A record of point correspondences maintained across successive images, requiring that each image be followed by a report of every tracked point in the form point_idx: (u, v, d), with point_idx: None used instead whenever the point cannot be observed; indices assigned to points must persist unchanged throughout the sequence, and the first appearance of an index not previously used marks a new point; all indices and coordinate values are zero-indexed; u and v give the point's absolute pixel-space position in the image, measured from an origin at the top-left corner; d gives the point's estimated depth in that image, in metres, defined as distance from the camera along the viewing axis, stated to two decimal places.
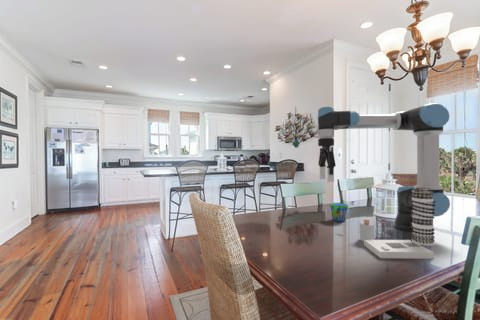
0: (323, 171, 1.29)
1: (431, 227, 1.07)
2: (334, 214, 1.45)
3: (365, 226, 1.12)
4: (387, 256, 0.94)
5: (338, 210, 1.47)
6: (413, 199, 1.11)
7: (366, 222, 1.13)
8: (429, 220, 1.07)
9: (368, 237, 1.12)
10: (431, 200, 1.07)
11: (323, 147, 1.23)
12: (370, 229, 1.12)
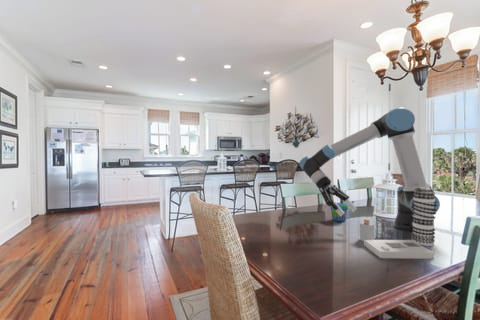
0: (349, 203, 1.26)
1: (432, 227, 1.07)
2: (334, 214, 1.45)
3: (365, 226, 1.12)
4: (387, 256, 0.94)
5: None
6: (414, 199, 1.10)
7: (366, 222, 1.13)
8: (430, 220, 1.07)
9: (368, 237, 1.12)
10: (433, 200, 1.06)
11: None
12: (370, 229, 1.12)
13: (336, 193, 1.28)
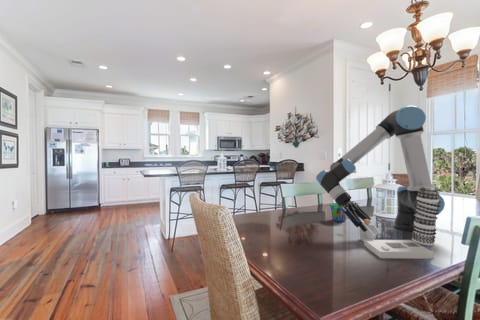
0: None
1: (433, 227, 1.06)
2: (334, 214, 1.45)
3: None
4: (387, 256, 0.94)
5: (338, 210, 1.47)
6: (418, 198, 1.09)
7: (366, 222, 1.13)
8: (432, 220, 1.06)
9: (368, 237, 1.12)
10: (436, 201, 1.06)
11: None
12: (370, 229, 1.12)
13: (356, 211, 1.19)
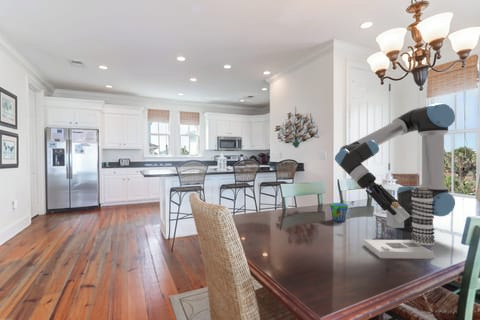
0: None
1: (431, 227, 1.07)
2: (334, 214, 1.45)
3: None
4: (387, 256, 0.94)
5: (338, 210, 1.47)
6: (413, 199, 1.11)
7: (394, 205, 1.00)
8: (429, 220, 1.07)
9: (397, 221, 0.98)
10: (431, 200, 1.07)
11: None
12: (400, 212, 0.98)
13: (382, 194, 1.06)
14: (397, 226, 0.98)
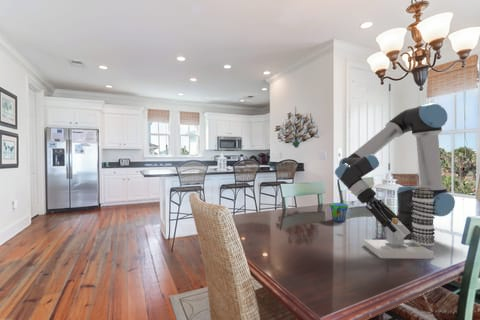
0: None
1: (431, 227, 1.07)
2: (334, 214, 1.45)
3: None
4: (387, 256, 0.94)
5: (338, 210, 1.47)
6: (413, 199, 1.11)
7: (394, 221, 1.00)
8: (429, 220, 1.07)
9: (397, 238, 0.98)
10: (431, 200, 1.07)
11: None
12: (400, 229, 0.98)
13: (382, 209, 1.06)
14: (397, 243, 0.98)
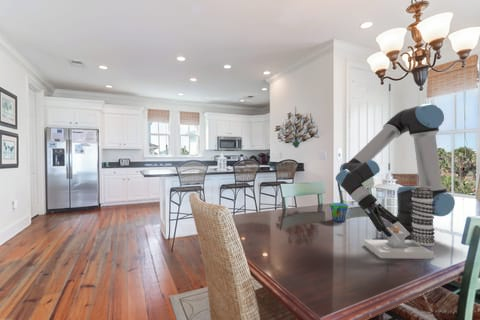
0: (400, 227, 1.05)
1: (431, 227, 1.07)
2: (334, 214, 1.45)
3: (395, 234, 0.99)
4: (387, 256, 0.94)
5: (338, 210, 1.47)
6: (413, 199, 1.11)
7: (396, 230, 1.00)
8: (429, 220, 1.07)
9: (399, 247, 0.99)
10: (431, 200, 1.07)
11: None
12: (401, 238, 0.98)
13: (383, 214, 1.07)
14: None
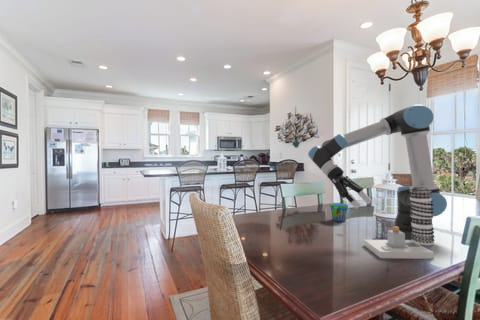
0: (364, 195, 1.17)
1: (430, 226, 1.07)
2: (334, 214, 1.45)
3: (395, 234, 0.99)
4: (387, 256, 0.94)
5: (338, 210, 1.47)
6: (411, 199, 1.11)
7: (396, 230, 1.00)
8: (428, 220, 1.07)
9: (399, 247, 0.99)
10: (429, 199, 1.07)
11: None
12: (401, 238, 0.98)
13: (349, 184, 1.18)
14: None
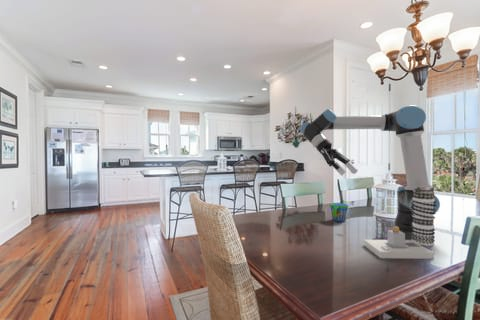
0: (350, 166, 1.26)
1: (432, 227, 1.07)
2: (334, 214, 1.45)
3: (395, 234, 0.99)
4: (387, 256, 0.94)
5: (338, 210, 1.47)
6: (414, 199, 1.10)
7: (396, 230, 1.00)
8: (430, 220, 1.07)
9: (399, 247, 0.99)
10: (432, 200, 1.06)
11: None
12: (401, 238, 0.98)
13: (337, 156, 1.28)
14: None
